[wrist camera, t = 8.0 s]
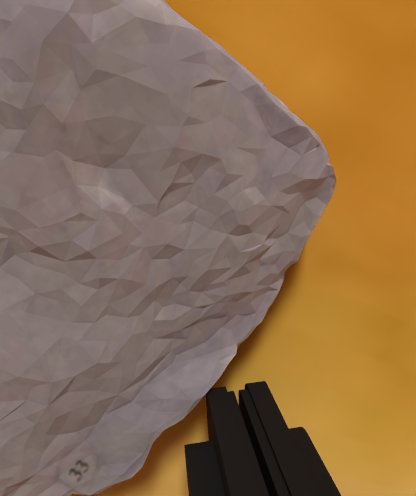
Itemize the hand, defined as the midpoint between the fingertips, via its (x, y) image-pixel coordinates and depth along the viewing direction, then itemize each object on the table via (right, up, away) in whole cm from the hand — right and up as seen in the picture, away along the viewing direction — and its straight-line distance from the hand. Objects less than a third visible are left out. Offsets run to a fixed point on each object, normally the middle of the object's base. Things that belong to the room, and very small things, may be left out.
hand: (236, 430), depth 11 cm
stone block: (-4, +5, 0) cm, 7 cm away
